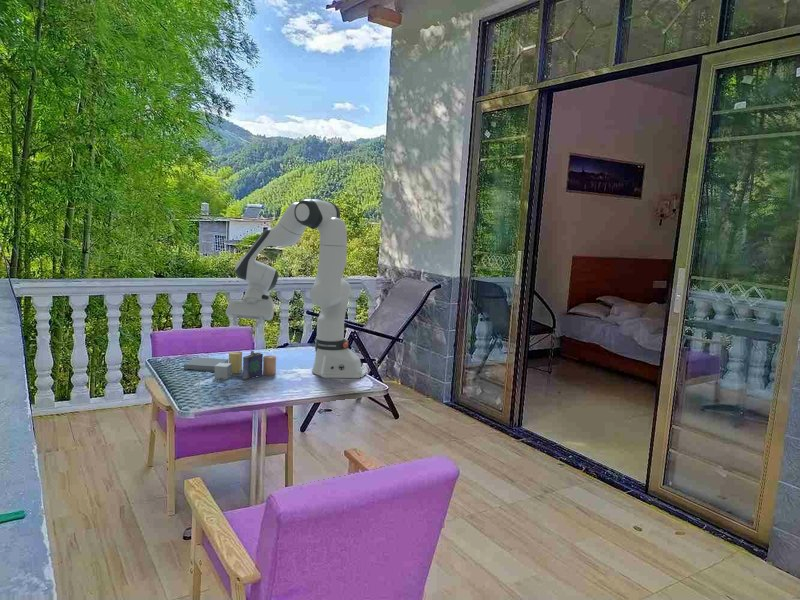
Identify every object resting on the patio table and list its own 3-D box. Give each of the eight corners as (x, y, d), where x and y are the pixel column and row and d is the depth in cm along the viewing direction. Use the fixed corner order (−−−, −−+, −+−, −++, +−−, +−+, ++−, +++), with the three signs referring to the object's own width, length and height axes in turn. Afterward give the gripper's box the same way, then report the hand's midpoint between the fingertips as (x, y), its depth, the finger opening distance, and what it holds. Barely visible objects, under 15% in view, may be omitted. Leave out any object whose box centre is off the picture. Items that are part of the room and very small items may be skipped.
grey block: (231, 375, 219) (231, 363, 219) (227, 379, 214) (227, 366, 214) (219, 375, 220) (219, 362, 219) (214, 378, 215) (214, 365, 214)
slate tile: (228, 363, 236) (228, 359, 236) (217, 371, 224) (217, 366, 224) (196, 361, 237) (196, 357, 236) (183, 369, 225) (183, 364, 224)
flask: (245, 380, 214) (245, 353, 212) (240, 378, 215) (240, 352, 214) (263, 375, 221) (264, 349, 220) (258, 374, 223) (259, 348, 222)
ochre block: (241, 370, 227) (242, 351, 226) (238, 373, 223) (238, 354, 222) (232, 370, 227) (232, 351, 226) (228, 372, 223) (228, 353, 222)
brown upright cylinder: (277, 372, 226) (277, 355, 225) (273, 375, 221) (273, 358, 220) (265, 371, 227) (265, 355, 226) (261, 375, 222) (261, 358, 221)
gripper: (228, 294, 241) (219, 319, 233) (274, 297, 241) (267, 323, 232) (232, 302, 247) (223, 328, 238) (277, 305, 246) (270, 331, 237)
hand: (245, 325), depth 235 cm, fingers open, 8 cm apart
